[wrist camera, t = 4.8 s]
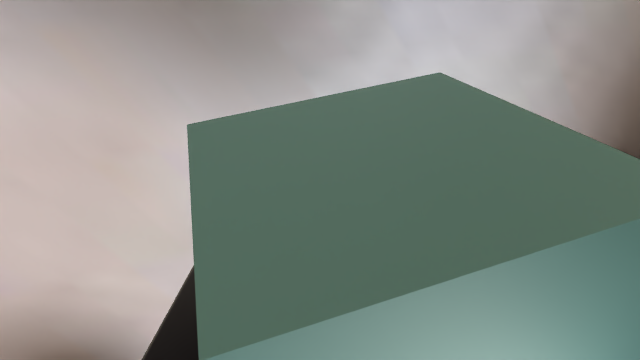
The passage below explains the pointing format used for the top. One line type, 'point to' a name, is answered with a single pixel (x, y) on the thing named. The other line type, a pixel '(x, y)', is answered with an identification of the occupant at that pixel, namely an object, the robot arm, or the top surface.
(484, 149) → the teal painted block
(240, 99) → the top surface
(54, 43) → the top surface
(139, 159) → the top surface
